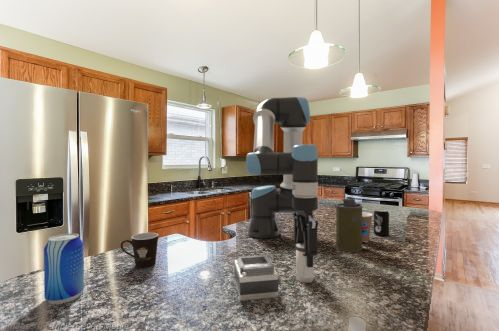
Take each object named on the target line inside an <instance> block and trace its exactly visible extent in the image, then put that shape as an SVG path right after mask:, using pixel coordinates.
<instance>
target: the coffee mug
mask: <svg viewBox="0 0 499 331" xmlns="http://www.w3.org/2000/svg"><path fill="white" fill-rule="evenodd" d="M158 242H159V233H156V232H141V233H136V234H133V235H132V236H131V240H130V239H125V240H123V241H121V243H120V249H121V250H122V251H123V252H124V253H126V254H127V256H130V257H132V258H133V259H134V266H135V268H137V269H141V270H142V269H149V268H152V267H155V265H156V260H157V251H158ZM124 243H129V244H130V245H131V246H132V249H133V250H132V252H133V254H132V253H130V252H129V251H127V250H126V249H125V248H124V247H123V246H124Z"/></svg>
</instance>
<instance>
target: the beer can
mask: <svg viewBox="0 0 499 331" xmlns="http://www.w3.org/2000/svg"><path fill="white" fill-rule="evenodd" d="M43 262H44V263H43V272H44V274H43V277H44V280H43V281H44V286H43V287H44V289H43V290H44V300H46V301H47V302H48V304H50V305H55V304H56V305H62V304H63V303H64V304H67V303H70V302H73V301H75V300H76V299H78V298H79V297H80V296H81V295H82V294H81V293H83V291H84V289H85V288H84V287H85V284H84V276H85V275H84V274H85V273H84V241H83V240H81V238H80V235H79V233H62V234H57V235H53V236H50V237H48V239H47V243H46V245H45V246H44V247H43ZM66 302H67V303H66ZM64 304H63V305H64Z"/></svg>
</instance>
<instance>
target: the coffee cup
mask: <svg viewBox="0 0 499 331" xmlns="http://www.w3.org/2000/svg"><path fill="white" fill-rule="evenodd" d="M373 217H374V213H370V212H367V211H362V242H366V243H368V242H369V240H370V237H371V236H370V234H371V227H372V219H373Z"/></svg>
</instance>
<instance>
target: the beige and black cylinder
mask: <svg viewBox="0 0 499 331" xmlns="http://www.w3.org/2000/svg"><path fill="white" fill-rule="evenodd" d="M303 254H305V246H304V243H298V244H295V279H296V280H297V281H298V282H300V283H304V284H305V283H307V284H308V283H312V282H313V281H314V279H315V278H314V277H310V278H304V256H303Z"/></svg>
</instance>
